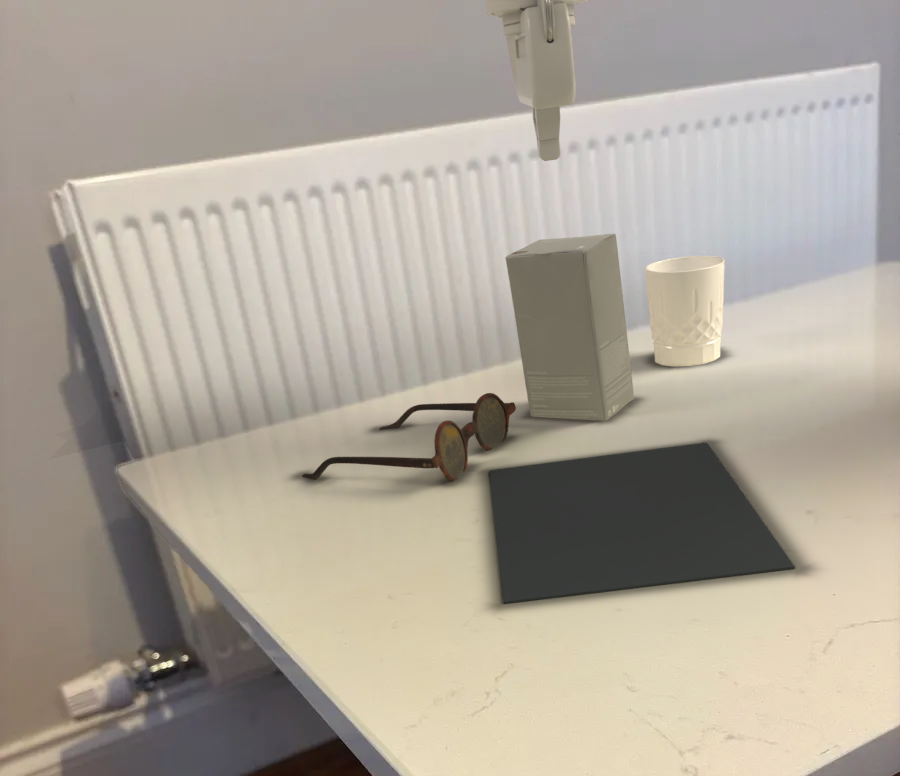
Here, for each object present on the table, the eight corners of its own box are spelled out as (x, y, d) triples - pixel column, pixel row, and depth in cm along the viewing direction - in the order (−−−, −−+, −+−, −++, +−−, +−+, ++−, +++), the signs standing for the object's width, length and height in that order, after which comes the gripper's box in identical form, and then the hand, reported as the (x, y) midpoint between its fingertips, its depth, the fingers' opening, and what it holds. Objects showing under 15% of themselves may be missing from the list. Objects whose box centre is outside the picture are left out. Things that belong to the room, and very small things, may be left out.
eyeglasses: (441, 496, 83) (432, 437, 81) (296, 484, 90) (284, 430, 88) (519, 435, 94) (513, 382, 92) (384, 429, 101) (375, 379, 99)
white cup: (634, 367, 109) (628, 270, 104) (680, 348, 113) (676, 254, 109) (695, 375, 103) (692, 273, 99) (741, 355, 108) (740, 256, 103)
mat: (707, 448, 85) (706, 442, 84) (795, 575, 63) (795, 566, 63) (490, 476, 86) (489, 470, 85) (504, 610, 64) (503, 601, 64)
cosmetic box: (635, 404, 98) (626, 230, 91) (601, 428, 93) (588, 246, 86) (557, 399, 102) (542, 234, 95) (521, 422, 97) (502, 250, 90)
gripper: (587, -30, 79) (598, 163, 85) (560, -11, 97) (571, 147, 104) (505, -18, 79) (522, 173, 86) (494, -1, 98) (509, 156, 104)
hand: (549, 159), depth 95 cm, fingers closed
